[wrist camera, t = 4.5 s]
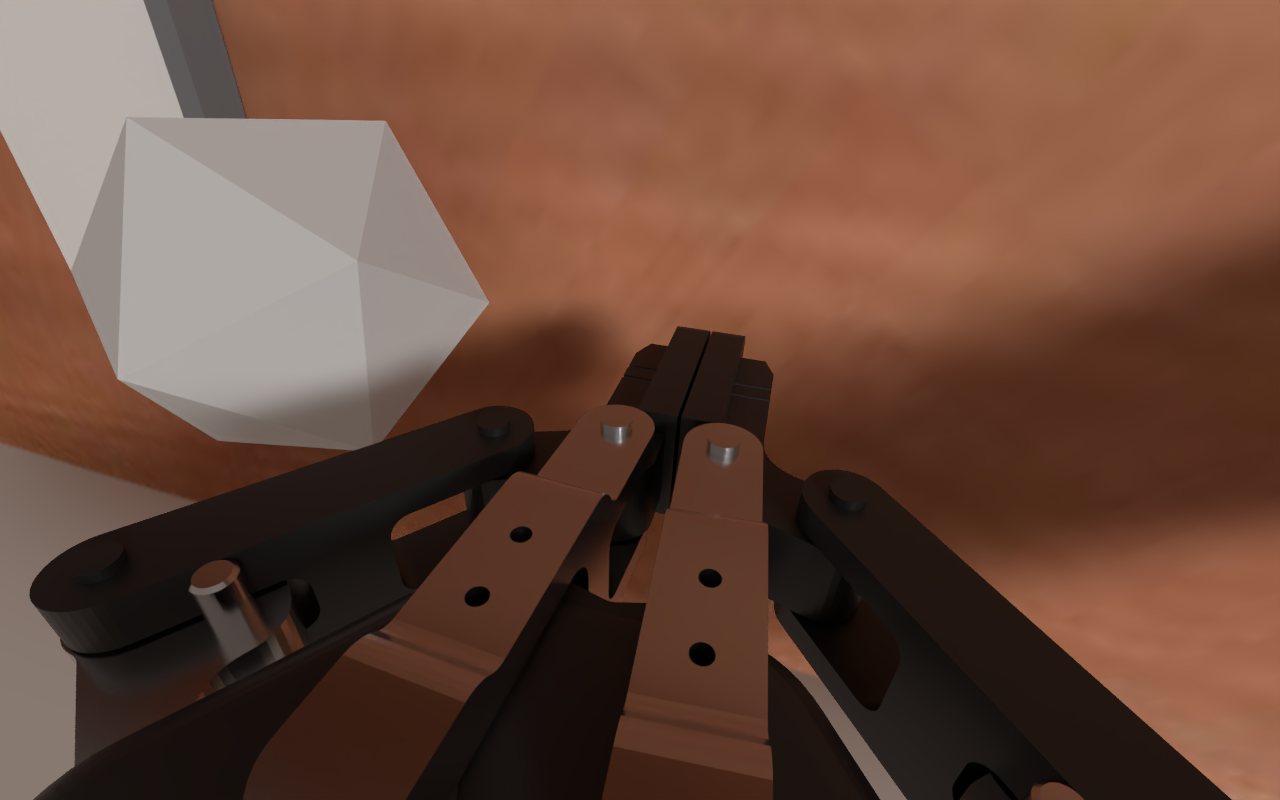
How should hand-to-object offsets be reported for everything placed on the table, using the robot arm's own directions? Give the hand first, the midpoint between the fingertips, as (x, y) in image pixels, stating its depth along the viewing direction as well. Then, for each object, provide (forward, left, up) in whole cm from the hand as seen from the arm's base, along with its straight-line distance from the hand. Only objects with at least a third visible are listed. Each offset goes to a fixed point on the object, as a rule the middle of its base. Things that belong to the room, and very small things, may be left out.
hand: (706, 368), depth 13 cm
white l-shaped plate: (+22, 0, -6) cm, 23 cm away
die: (+11, 0, -6) cm, 13 cm away
